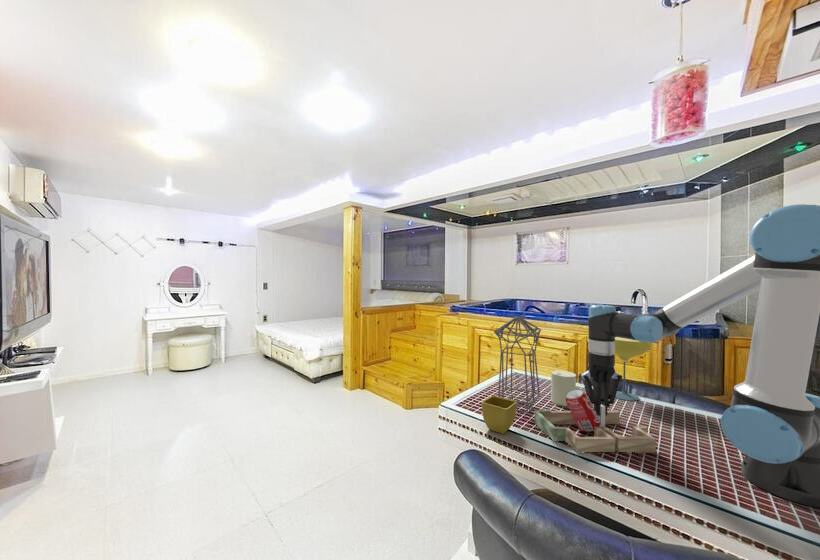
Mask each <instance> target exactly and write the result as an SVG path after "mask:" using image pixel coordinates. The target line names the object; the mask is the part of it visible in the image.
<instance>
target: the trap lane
mask: <svg viewBox="0 0 820 560" xmlns="http://www.w3.org/2000/svg"><path fill="white" fill-rule="evenodd" d="M620 413H621V412H620V411H619V410H607V416H605V425H620V420H621V419H620V418H621V417H620V416H621V415H620ZM533 420H534V424H535V425H536V426H537V427H538V429H540V430H541V431H542V432H543V433H544V434H545V435H546V434H547V435H548V436H549V437H550V438H551V439H552V440H553V441H566V442H567V443H568V444H569V445H570V446H571V447H572V448H574V449H575V450H576V451H577V452H615V453H616V452H617V451H618V452H627V453H629V454H632V452H633V454H635V453H636V454H637V453H639V454H642V453H643V454H645V453H647V454H648V453H649V454H651V453H653V454H654V453H656V450H657V449H656V448H657V446H656V445H657V441H656V440H657V439H656V437H654V436H653V435H651V434H650V433H648V427H647V426H644V425H643V426H642V425H641V426H638V425H637V426H634V425H633V426H632V427H631V436H620V435H618V434H617V433H616V432H614V431H612V430H611V429H610V428H609V427H606V426H605V427H600V426H599V427H594V431H593V432H594V433H593V434H594V435H593V436H579V435H577V434H576V432H574V431H573V430H572V429H570V428H569V426H555V425H577V424H576V422H575V420H574V418H573V416H572V414H571V412H570V410H550V409H537V410H536V411H535V410H534V418H533ZM547 435H546V436H547ZM548 436H547V437H548ZM549 437H548V438H549ZM550 438H549V439H550ZM551 439H550V440H551ZM552 440H551V441H552ZM553 441H552V442H553ZM566 442H565V443H566ZM567 443H566V444H567ZM568 444H567V445H568ZM569 445H568V446H569ZM570 446H569V447H570ZM571 447H570V448H571ZM572 448H571V449H572ZM575 450H574V451H575ZM576 451H575V452H576ZM577 452H576V453H577ZM618 452H617V453H618ZM634 452H635V453H634ZM627 453H626V454H627Z"/></svg>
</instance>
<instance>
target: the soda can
mask: <svg viewBox="0 0 820 560" xmlns="http://www.w3.org/2000/svg"><path fill="white" fill-rule="evenodd" d="M565 397H566V403H567V405H568V406H567V407H568V411H570V412H571V414H572V416H573V418H574V420H575V422H576V424H575V425H576V426H577V427H578V429H579V430H581V431H582V432H589V433H590V432H594V427H600V420H599V418H598V416H597V413H596V411H595V409H594V404H592V403H591V401H590V399H589V397H588V395H587V394H586V392H584V390H583V389H581V388H576V389H572V390H569V391H568V392H566V394H565Z"/></svg>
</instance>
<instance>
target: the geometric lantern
mask: <svg viewBox="0 0 820 560" xmlns="http://www.w3.org/2000/svg"><path fill="white" fill-rule="evenodd" d="M510 325H511V326H510ZM521 325H522V326H523V328H524V329H521ZM509 326H510V327H509ZM514 326H515V328H514ZM505 329H507V330H508V332H507V333H506V332H504V330H505ZM513 330H514V331H513ZM518 331H519V334H518ZM541 331H542V329H541V328H539V327H538V326H536V325H535V324H532V323H531V322H529V321H527V320H526V319H524V318H522V317H521V316H514V317H513V318H512V319H510V320H509V321H507V322H506V323H504V324H503V325H501V326H500V327H498V328H497V329H495V330H494V331H493V333H494V334H495V336H496V337H498V340H499V347H500V359H499V360H500V361H499V373H498V374H499V375H498V376H499V377H498V378H499V379H498V396H497V397H501V398H505V399H509V400H513V401H516V402H517V406H518V407H521V408H522V407H523V408H525V409H526V410H520V409H516V412H522V413H525V414H528V413H531V411H532V408H533V404H535V403H536V402H537V400H538V398H539V397H540V395H541V394H540V386H539V385H540V383H539V376H538V375H539V373H538V364H537V354H536V351H537V347H538V346H537V345H538V341H539V337H540V334H541ZM511 332H512V333H511ZM521 332H526V334H525V333H524V334H522V333H521ZM503 335H506V336H507V338H505V337H504V336H503ZM510 336H513V337H514V341H513V340H510V339H509V337H510ZM531 336H533V343H532V344H531V343H530V341H529V339H528V338H529V337H531ZM519 338H520V339H519ZM501 339H502V340H503V342H504V343H505V347H504V349H503V348H502V340H501ZM525 339H526V340H527V343H528V345H530V348H528V347H527V348H526V347H522V346H521V345H520V342H521V341H523V340H525ZM509 344H512V345H511V346H509ZM516 344H517V345H518V347H515V345H516ZM509 349H510V351H511V352H509ZM513 349H518V350H519V349H520V350H521V351H522V353H515V352H513ZM505 350H506V351H505ZM525 350H530V351H529V353H526V352H525ZM504 354H506V356H505V357H506V358H505V359H506V361H505V376H504ZM509 354H510V387H507V386H508V360H509ZM513 355H516V356H517V355H519V356H523V357H524V358H523V359H524V374H525V375H524V379H525V389H521V388H513ZM531 356H532V357H531ZM527 357H528V358H529V360H528V361H529V371H530V382H531V390H529V389H528V373H527ZM535 375H536V376H535ZM504 377H505V378H504ZM535 377H536V380H535ZM504 379H505V380H504ZM504 383H505V385H504ZM536 386H537V391H536ZM508 390H509V391H511V392H510V393H509V391H508ZM513 391H519V392H525V394H526V396H525V397H526V398H525V397H517V396H513ZM505 392H506V393H507V395H508V397H509V398H508V397H507V398H506V397H505ZM529 393H531V394H532V395H531V396H530V397H529ZM510 394H511V395H510ZM535 394H536V396H535ZM516 399H520V400H516ZM521 400H525V401H521ZM520 404H522V405H520Z"/></svg>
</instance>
